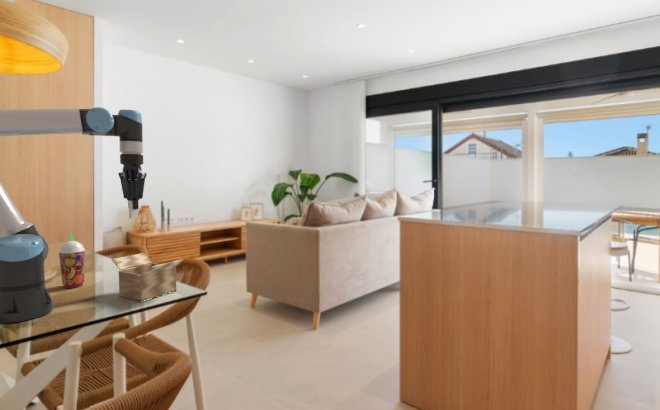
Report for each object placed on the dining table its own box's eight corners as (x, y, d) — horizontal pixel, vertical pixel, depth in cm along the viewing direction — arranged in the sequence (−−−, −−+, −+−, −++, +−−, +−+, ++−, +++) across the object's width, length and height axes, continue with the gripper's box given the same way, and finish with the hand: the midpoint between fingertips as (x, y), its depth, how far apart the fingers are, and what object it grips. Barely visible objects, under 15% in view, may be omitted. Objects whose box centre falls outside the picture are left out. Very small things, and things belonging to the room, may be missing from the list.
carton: (142, 302, 130) (141, 275, 130) (119, 296, 136) (118, 271, 135) (176, 291, 143) (175, 267, 142) (154, 286, 148) (153, 263, 148)
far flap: (120, 269, 136) (112, 258, 138) (120, 270, 136) (111, 259, 138) (152, 262, 147) (144, 252, 149) (151, 263, 147) (143, 253, 149)
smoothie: (63, 284, 150) (61, 232, 148) (88, 282, 153) (86, 231, 151) (57, 290, 142) (54, 235, 141) (83, 288, 145) (81, 234, 144)
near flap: (143, 274, 130) (152, 267, 128) (143, 273, 130) (152, 266, 128) (174, 267, 141) (183, 260, 139) (174, 266, 141) (183, 259, 139)
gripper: (152, 153, 143) (154, 218, 145) (129, 154, 149) (131, 216, 151) (133, 152, 136) (135, 220, 138) (110, 153, 142) (113, 217, 144)
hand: (133, 218), depth 145 cm, fingers closed
